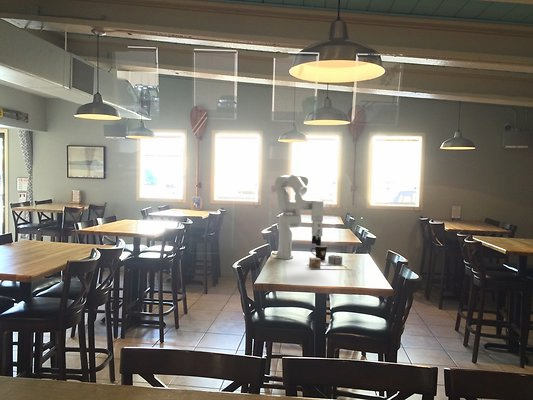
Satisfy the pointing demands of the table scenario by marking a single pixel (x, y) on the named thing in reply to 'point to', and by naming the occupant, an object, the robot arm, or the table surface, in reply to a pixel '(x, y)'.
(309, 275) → the table surface
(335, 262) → the dome ring
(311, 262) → the die
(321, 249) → the coffee mug
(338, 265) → the lane
